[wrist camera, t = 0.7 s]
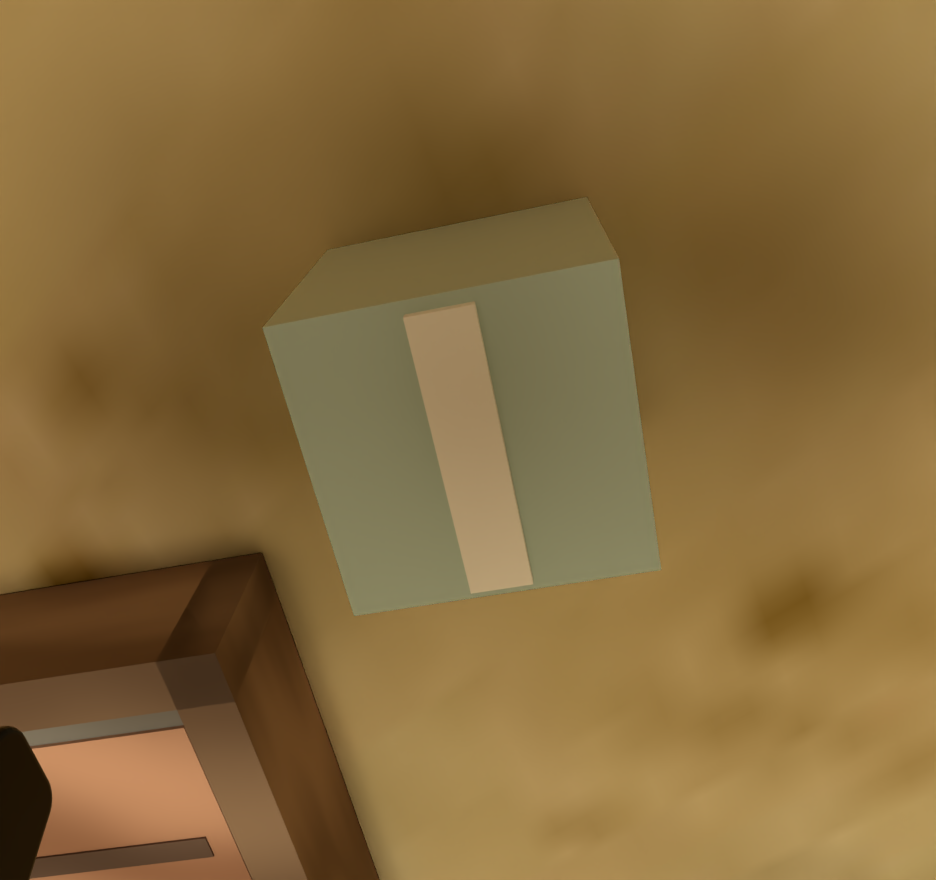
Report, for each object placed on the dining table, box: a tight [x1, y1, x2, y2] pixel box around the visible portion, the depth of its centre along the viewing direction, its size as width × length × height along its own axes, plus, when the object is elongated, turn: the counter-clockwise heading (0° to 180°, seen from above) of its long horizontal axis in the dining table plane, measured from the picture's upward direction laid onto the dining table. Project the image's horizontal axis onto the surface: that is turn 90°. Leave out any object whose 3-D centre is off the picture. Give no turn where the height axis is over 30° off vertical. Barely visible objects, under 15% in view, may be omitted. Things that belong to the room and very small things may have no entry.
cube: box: [262, 197, 661, 616], centre depth 15 cm, size 5×5×5 cm
